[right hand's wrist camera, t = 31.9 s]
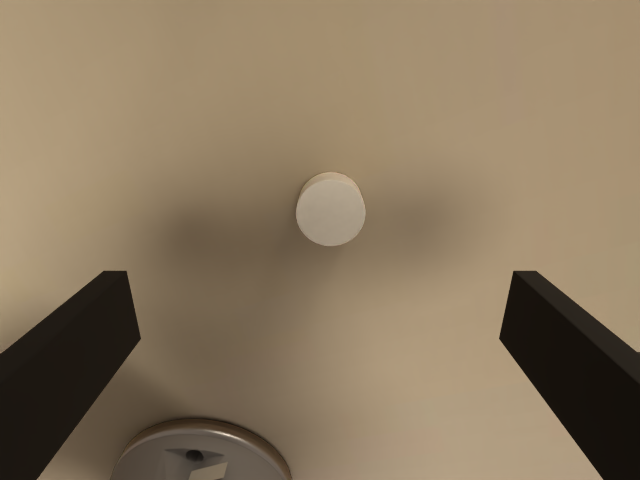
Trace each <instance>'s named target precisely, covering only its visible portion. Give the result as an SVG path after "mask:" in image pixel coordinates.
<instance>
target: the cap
mask: <svg viewBox="0 0 640 480" xmlns="http://www.w3.org/2000/svg"><path fill="white" fill-rule="evenodd" d="M365 215H366V210H365V205H364V201H363V198H362V195H361V192H360V190H359V188H358V186H357V185H356V184H355V182H354V181H353V180H352V179H350V178H349V177H347V176H345V175H343V174H340V173H336V172H325V173H321V174H318V175H316V176H314V177H312V178H311V179H310V180H309V181H307V183H306V184H305V185H304V186H303V188H302V190H301V192H300V195H299V199H298V203H297V207H296V219H297V223H298V226H299V228H300V230H301V231H302V233H303V234H304V235H305V236H306V237H307V238H308V239H310V240H311V241H313V242H315V243H317V244H320V245H324V246H337V245H341V244H344V243H346V242H348V241H350V240H352V239H353V238H354V237H355V236H356V235H357V234H358V233H359V232H360V230H361V228H362V226H363V224H364V221H365Z"/></svg>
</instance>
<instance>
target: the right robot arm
mask: <svg viewBox="0 0 640 480" xmlns="http://www.w3.org/2000/svg"><path fill="white" fill-rule="evenodd" d="M140 339H141V337H140V332H139V327H138V323H137V318H136V313H135V309H134V304H133V299H132V294H131V290H130V285H129V280H128V276H127V271H103V272H102V273H101V274H99V275H98V276H97V277H96V278H94V279H93V280H92V281H91V282H89V283H88V284H87V285H86V286H85V287H83V288H82V289H81V290H80V291H78V292H77V293H76V294H75V295H73V296H72V297H71V298H70V299H68V300H67V301H66V302H65V303H63V304H62V305H61V306H60V307H58V308H57V309H56V310H55V311H54V312H52V313H51V314H50V315H49V316H47V317H46V318H45V319H44V320H42V321H41V322H40V323H39V324H37V325H36V326H35V327H34V328H32V329H31V330H30V331H29V332H27V333H26V334H25V335H24V336H23V337H21V338H20V339H19V340H18V341H16V342H15V343H14V344H13V345H11V346H10V347H9V348H8V349H6V350H5V351H4V352H3V353H1V354H0V480H37V478H38V477H39V476H40V474H41V473H42V472H43V470H44V469H45V468H46V466H47V465H48V464H49V462H50V461H51V459H52V458H53V457H54V455H55V454H56V453H57V451H58V450H59V449H60V447H61V446H62V445H63V443H64V442H65V441H66V439H67V438H68V437H69V435H70V434H71V432H72V431H73V430H74V428H75V427H76V426H77V424H78V423H79V422H80V420H81V419H82V418H83V416H84V415H85V414H86V412H87V411H88V409H89V408H90V407H91V405H92V404H93V403H94V401H95V400H96V399H97V397H98V396H99V395H100V393H101V392H102V391H103V389H104V388H105V387H106V385H107V384H108V382H109V381H110V380H111V378H112V377H113V376H114V374H115V373H116V372H117V370H118V369H119V368H120V366H121V365H122V364H123V362H124V361H125V359H126V358H127V357H128V355H129V354H130V353H131V351H132V350H133V349H134V347H135V346H136V345H137V343H138V342H139V341H140ZM499 339H500V341H501V342H502V343H503V345H504V346H505V347H506V349H507V350H508V351H509V353H510V354H511V355H512V357H513V358H514V359H515V361H516V362H517V364H518V365H519V366H520V368H521V369H522V370H523V372H524V373H525V374H526V376H527V377H528V378H529V380H530V381H531V382H532V384H533V385H534V387H535V388H536V389H537V391H538V392H539V393H540V395H541V396H542V397H543V399H544V400H545V401H546V403H547V404H548V405H549V407H550V408H551V409H552V411H553V412H554V414H555V415H556V416H557V418H558V419H559V420H560V422H561V423H562V424H563V426H564V427H565V428H566V430H567V431H568V432H569V434H570V435H571V437H572V438H573V439H574V441H575V442H576V443H577V445H578V446H579V447H580V449H581V450H582V451H583V453H584V454H585V455H586V457H587V458H588V459H589V461H590V462H591V464H592V465H593V466H594V468H595V469H596V470H597V472H598V473H599V474H600V476H601V477H602V478H603V480H640V352H636V351H635V350H634V349H632V348H631V347H630V346H629V345H627V344H626V343H625V342H624V341H622V340H621V339H620V338H619V337H617V336H616V335H615V334H614V333H613V332H611V331H610V330H609V329H608V328H606V327H605V326H604V325H603V324H601V323H600V322H599V321H598V320H596V319H595V318H594V317H593V316H591V315H590V314H589V313H588V312H586V311H585V310H584V309H583V308H582V307H580V306H579V305H578V304H577V303H575V302H574V301H573V300H572V299H570V298H569V297H568V296H567V295H565V294H564V293H563V292H562V291H560V290H559V289H558V288H557V287H555V286H554V285H553V284H552V283H551V282H549V281H548V280H547V279H546V278H544V277H543V276H542V275H541V274H539V273H538V272H537V271H513V276H512V280H511V285H510V290H509V294H508V299H507V304H506V309H505V313H504V318H503V323H502V327H501V332H500V337H499ZM110 480H292V479H291V475H290V472H289V469H288V467H287V465H286V463H285V461H284V460H283V459H282V457H281V456H280V455H279V453H278V452H277V451H276V450H275V449H274V448H273V447H272V446H271V445H269V444H268V443H267V442H265V441H264V440H263V439H261V438H260V437H258V436H257V435H255V434H253V433H251V432H249V431H247V430H245V429H242V428H240V427H237V426H234V425H231V424H228V423H224V422H219V421H214V420H207V419H180V420H173V421H168V422H164V423H160V424H158V425H155V426H152V427H150V428H148V429H146V430H144V431H143V432H141V433H140V434H138V435H137V436H136V437H134V438H133V439H132V440H131V441H130V442H129V444H128V445H127V446H126V448H125V450H124V451H123V453H122V455H121V457H120V459H119V460H118V462H117V464H116V466H115V467H114V470H113V473H112V476H111V478H110Z"/></svg>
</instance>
